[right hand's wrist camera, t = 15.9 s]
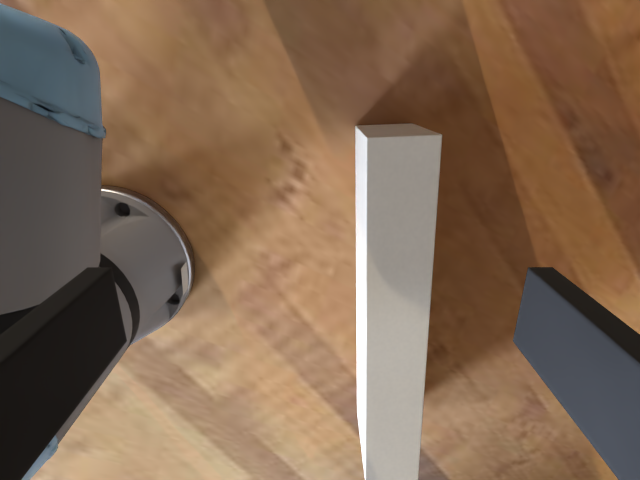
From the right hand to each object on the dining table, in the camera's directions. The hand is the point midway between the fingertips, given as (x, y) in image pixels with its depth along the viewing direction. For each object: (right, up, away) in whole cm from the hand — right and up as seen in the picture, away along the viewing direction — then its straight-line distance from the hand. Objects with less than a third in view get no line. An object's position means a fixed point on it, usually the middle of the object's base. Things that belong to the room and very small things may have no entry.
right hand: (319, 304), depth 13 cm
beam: (+6, -3, +28) cm, 28 cm away
